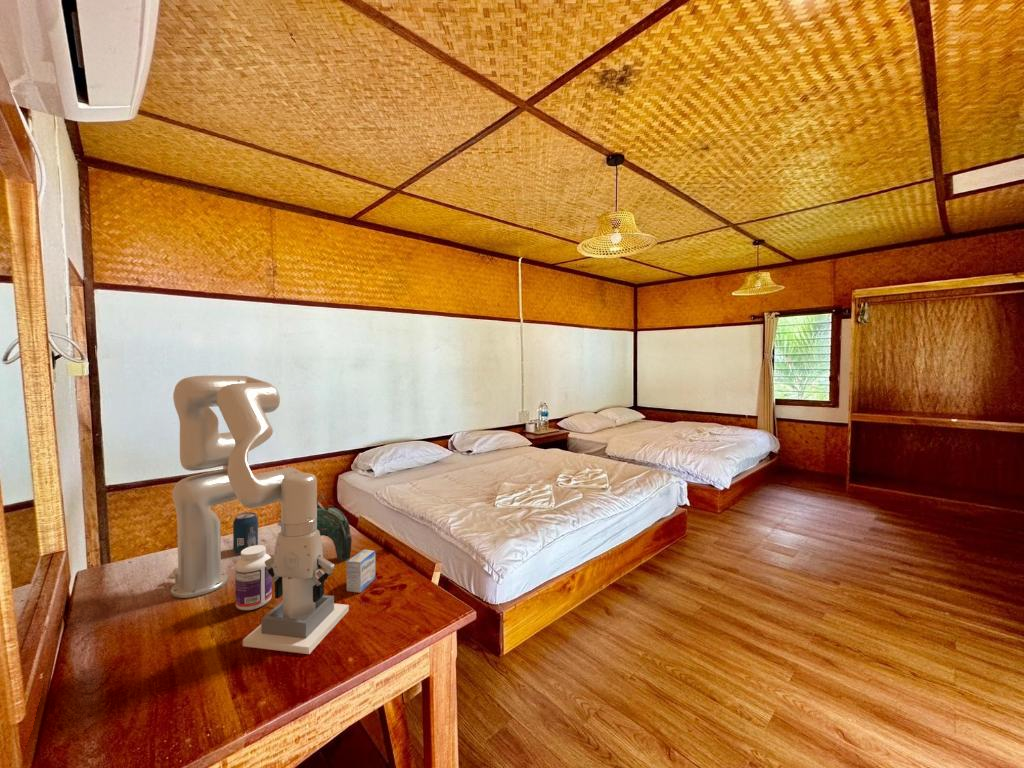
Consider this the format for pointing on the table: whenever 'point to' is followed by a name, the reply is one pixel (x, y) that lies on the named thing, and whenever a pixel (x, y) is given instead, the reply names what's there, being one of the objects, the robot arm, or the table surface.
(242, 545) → the soda can
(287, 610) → the skincare box
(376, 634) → the table surface
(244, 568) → the pill bottle
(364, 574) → the medicine box
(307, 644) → the socket stand
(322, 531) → the spotted teal figurine
